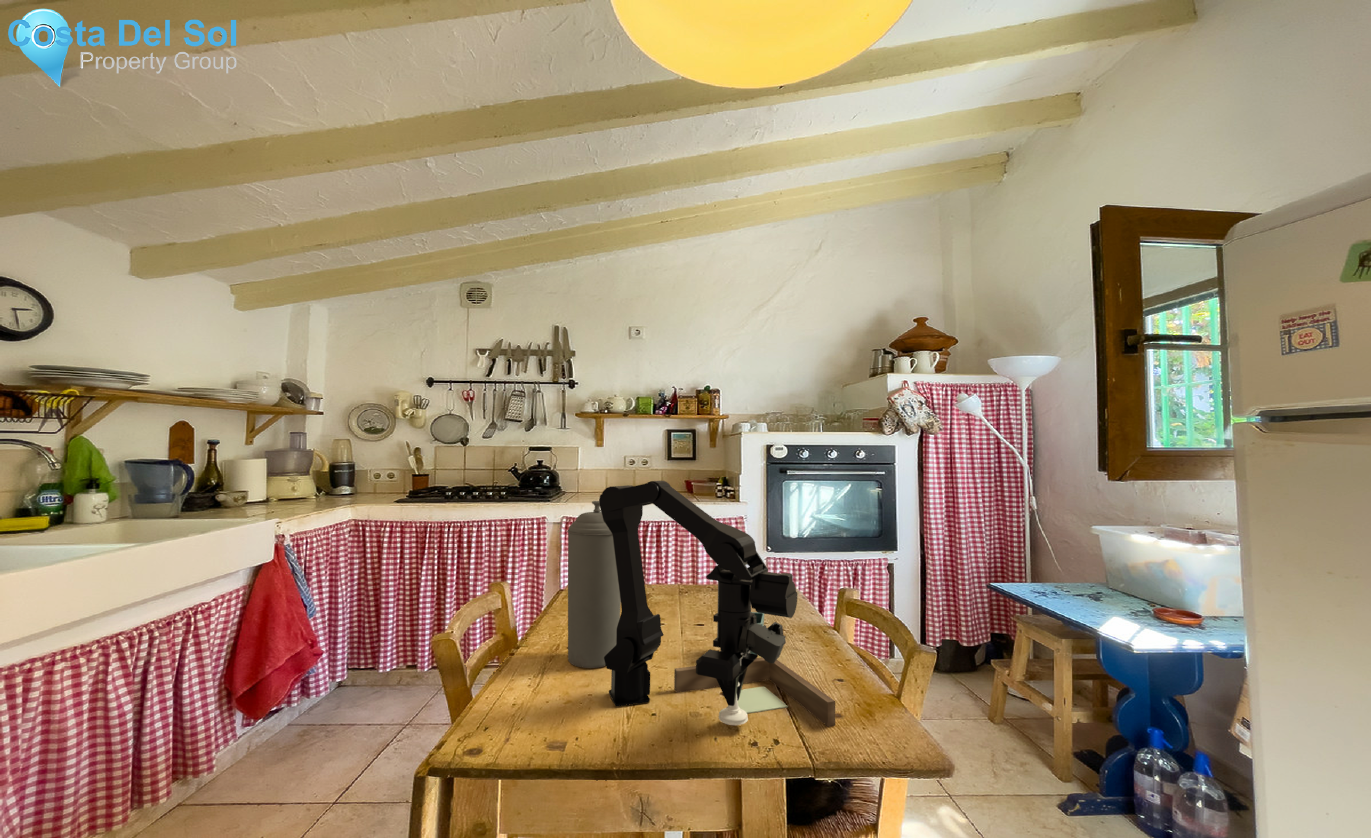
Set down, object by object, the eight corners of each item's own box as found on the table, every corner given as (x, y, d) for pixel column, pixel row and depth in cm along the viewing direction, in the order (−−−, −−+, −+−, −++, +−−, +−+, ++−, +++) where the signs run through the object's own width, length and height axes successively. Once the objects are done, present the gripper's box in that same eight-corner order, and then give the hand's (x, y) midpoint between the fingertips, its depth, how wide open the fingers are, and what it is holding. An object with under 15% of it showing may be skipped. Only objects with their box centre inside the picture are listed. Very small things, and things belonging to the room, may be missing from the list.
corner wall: (718, 746, 86) (719, 719, 86) (674, 689, 106) (674, 668, 107) (835, 725, 93) (835, 701, 93) (772, 676, 114) (772, 656, 114)
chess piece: (713, 714, 94) (714, 653, 94) (739, 709, 95) (740, 650, 96) (726, 727, 89) (726, 664, 90) (753, 722, 91) (753, 660, 91)
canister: (553, 658, 122) (557, 500, 124) (601, 646, 130) (605, 498, 133) (582, 676, 112) (587, 504, 115) (633, 661, 121) (636, 501, 123)
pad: (742, 714, 97) (742, 713, 97) (722, 693, 105) (722, 692, 105) (787, 707, 100) (787, 706, 100) (764, 687, 108) (764, 686, 108)
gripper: (763, 630, 82) (762, 739, 80) (794, 601, 98) (794, 691, 97) (695, 620, 86) (693, 722, 85) (736, 594, 103) (735, 679, 102)
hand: (733, 702), depth 92 cm, fingers closed on chess piece
